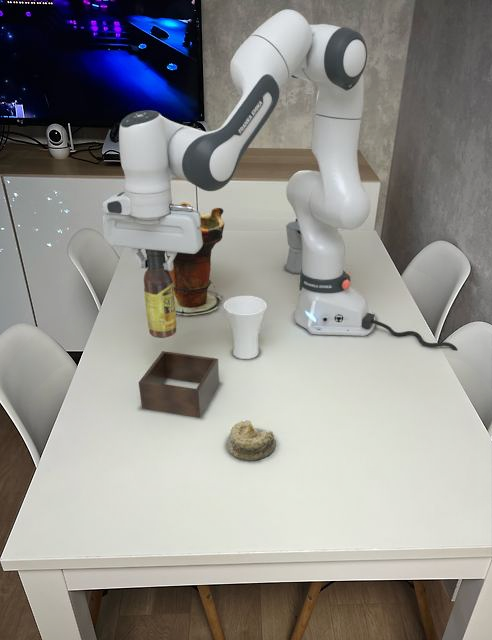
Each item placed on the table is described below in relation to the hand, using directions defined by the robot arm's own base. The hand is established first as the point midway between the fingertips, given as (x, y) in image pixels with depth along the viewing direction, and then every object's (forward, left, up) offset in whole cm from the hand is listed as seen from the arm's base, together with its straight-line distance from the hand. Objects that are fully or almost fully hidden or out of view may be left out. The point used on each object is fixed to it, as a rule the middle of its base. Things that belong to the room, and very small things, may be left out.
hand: (156, 268), depth 127 cm
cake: (-25, +17, -29) cm, 42 cm away
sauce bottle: (0, 0, -15) cm, 15 cm away
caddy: (-5, +4, -29) cm, 30 cm away
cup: (-14, -18, -29) cm, 37 cm away
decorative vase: (+9, -42, -29) cm, 52 cm away
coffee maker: (-16, -75, -29) cm, 82 cm away
